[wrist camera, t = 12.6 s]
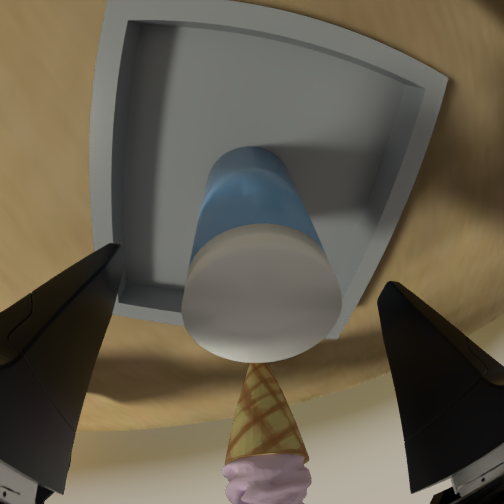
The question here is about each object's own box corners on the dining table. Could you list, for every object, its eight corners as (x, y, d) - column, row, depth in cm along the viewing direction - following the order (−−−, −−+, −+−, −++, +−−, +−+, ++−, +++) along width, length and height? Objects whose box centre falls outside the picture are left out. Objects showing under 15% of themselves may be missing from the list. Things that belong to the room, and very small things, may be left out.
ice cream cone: (305, 365, 27) (332, 516, 14) (249, 385, 28) (258, 527, 16) (271, 328, 23) (294, 520, 11) (208, 354, 25) (205, 525, 13)
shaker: (279, 228, 17) (311, 365, 10) (201, 216, 17) (178, 355, 9) (299, 155, 15) (367, 262, 7) (214, 139, 14) (187, 236, 7)
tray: (327, 309, 23) (337, 339, 20) (115, 283, 20) (103, 312, 18) (418, 72, 13) (448, 77, 10) (129, 8, 10) (108, -3, 8)
